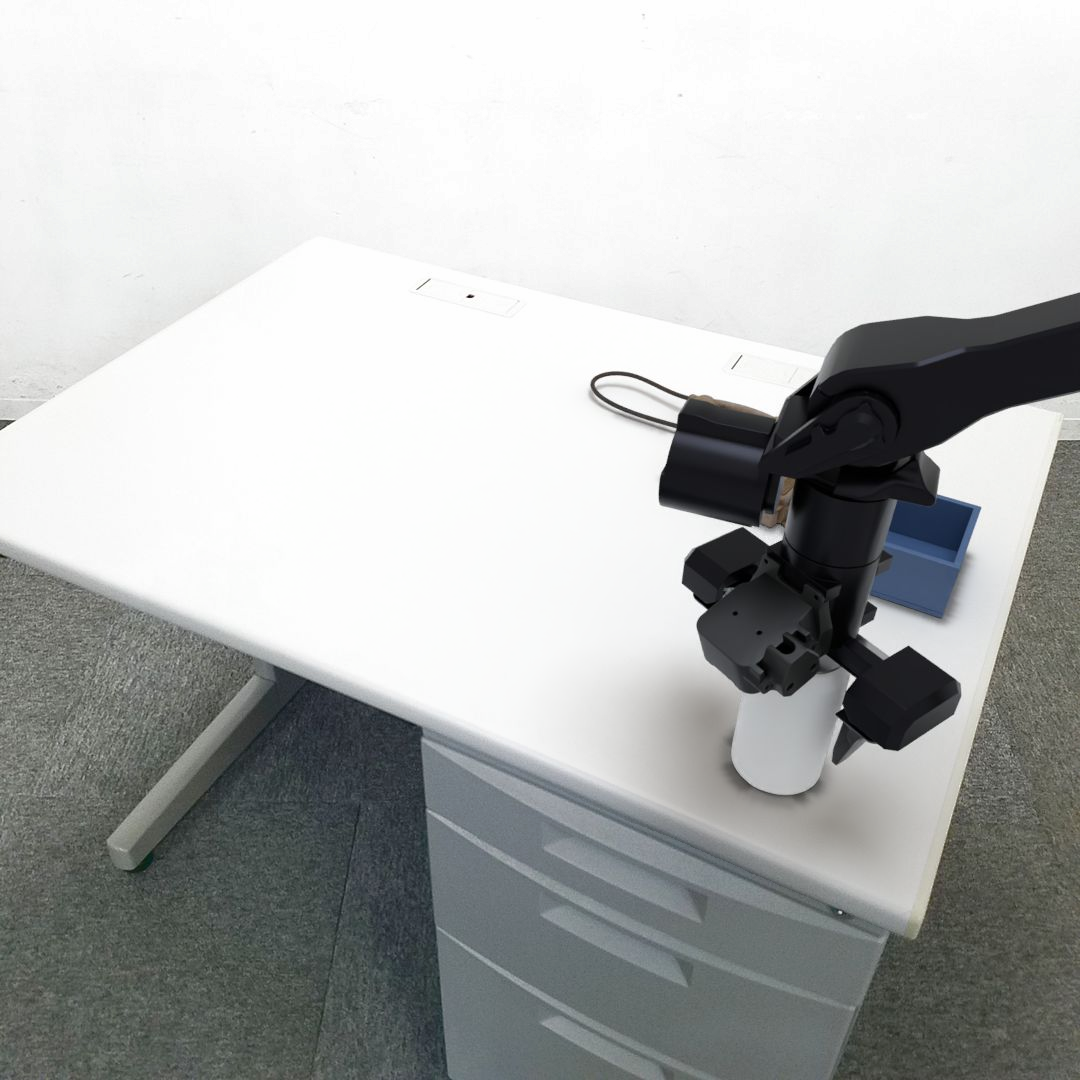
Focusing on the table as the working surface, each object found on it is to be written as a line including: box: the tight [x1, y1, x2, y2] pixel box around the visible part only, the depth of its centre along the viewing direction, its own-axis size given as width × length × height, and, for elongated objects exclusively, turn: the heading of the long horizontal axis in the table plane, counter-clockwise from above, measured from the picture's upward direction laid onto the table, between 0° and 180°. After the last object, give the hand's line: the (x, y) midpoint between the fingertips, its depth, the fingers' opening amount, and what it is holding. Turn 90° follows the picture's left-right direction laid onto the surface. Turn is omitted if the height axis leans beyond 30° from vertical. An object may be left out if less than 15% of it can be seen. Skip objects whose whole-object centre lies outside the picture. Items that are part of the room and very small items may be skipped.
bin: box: [869, 493, 982, 619], centre depth 86 cm, size 10×10×6 cm
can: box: [730, 655, 851, 796], centre depth 66 cm, size 6×6×12 cm
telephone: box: [589, 370, 795, 529], centre depth 102 cm, size 15×33×4 cm, turn 49°
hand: (787, 717), depth 66 cm, fingers open, 9 cm apart
